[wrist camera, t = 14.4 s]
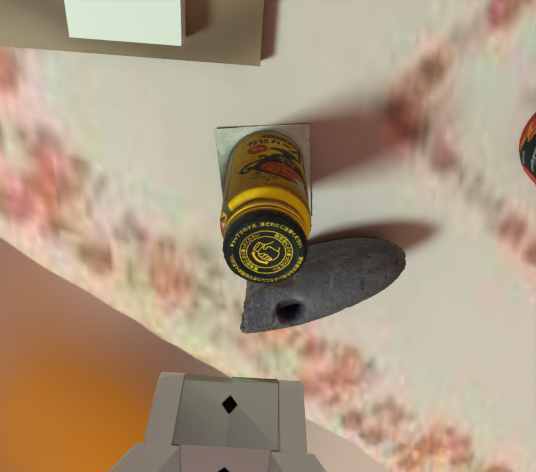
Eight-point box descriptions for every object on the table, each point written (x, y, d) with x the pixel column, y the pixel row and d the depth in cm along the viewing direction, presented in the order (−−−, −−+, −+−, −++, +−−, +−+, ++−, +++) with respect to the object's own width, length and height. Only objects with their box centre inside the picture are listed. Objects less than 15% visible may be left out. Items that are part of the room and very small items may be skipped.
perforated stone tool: (393, 212, 43) (412, 262, 37) (402, 258, 46) (421, 312, 40) (228, 252, 45) (222, 305, 40) (246, 294, 48) (243, 349, 43)
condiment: (309, 122, 38) (322, 204, 28) (310, 216, 43) (321, 314, 33) (214, 127, 38) (194, 210, 29) (226, 219, 43) (212, 318, 33)
